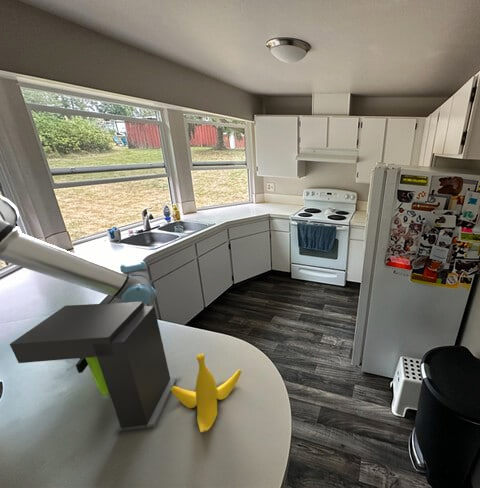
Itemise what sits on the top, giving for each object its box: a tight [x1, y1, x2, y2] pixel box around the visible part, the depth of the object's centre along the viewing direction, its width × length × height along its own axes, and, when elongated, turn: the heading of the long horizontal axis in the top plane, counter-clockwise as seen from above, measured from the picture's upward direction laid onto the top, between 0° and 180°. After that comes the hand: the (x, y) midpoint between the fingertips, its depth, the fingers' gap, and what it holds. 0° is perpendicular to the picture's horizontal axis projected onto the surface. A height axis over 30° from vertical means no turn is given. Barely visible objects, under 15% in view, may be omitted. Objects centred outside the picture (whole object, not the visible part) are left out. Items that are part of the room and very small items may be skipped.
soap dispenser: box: [85, 357, 110, 395], centre depth 69 cm, size 6×7×20 cm
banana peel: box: [171, 353, 242, 433], centre depth 65 cm, size 17×19×17 cm
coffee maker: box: [9, 302, 177, 432], centre depth 64 cm, size 22×14×28 cm, turn 99°
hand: (94, 366), depth 65 cm, fingers closed on soap dispenser, 6 cm apart
